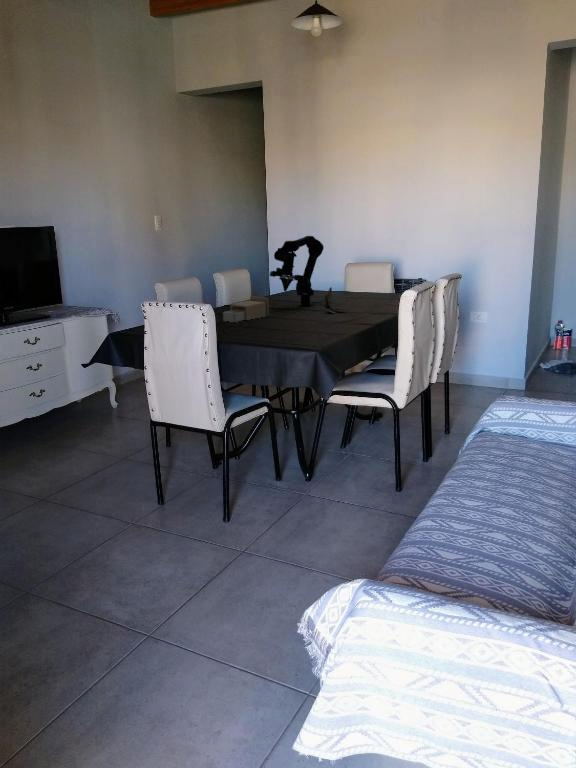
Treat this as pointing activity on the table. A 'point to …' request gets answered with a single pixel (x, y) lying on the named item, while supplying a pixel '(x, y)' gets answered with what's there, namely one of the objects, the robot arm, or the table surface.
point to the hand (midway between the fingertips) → (284, 291)
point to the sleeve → (251, 309)
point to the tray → (244, 311)
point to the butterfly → (327, 301)
